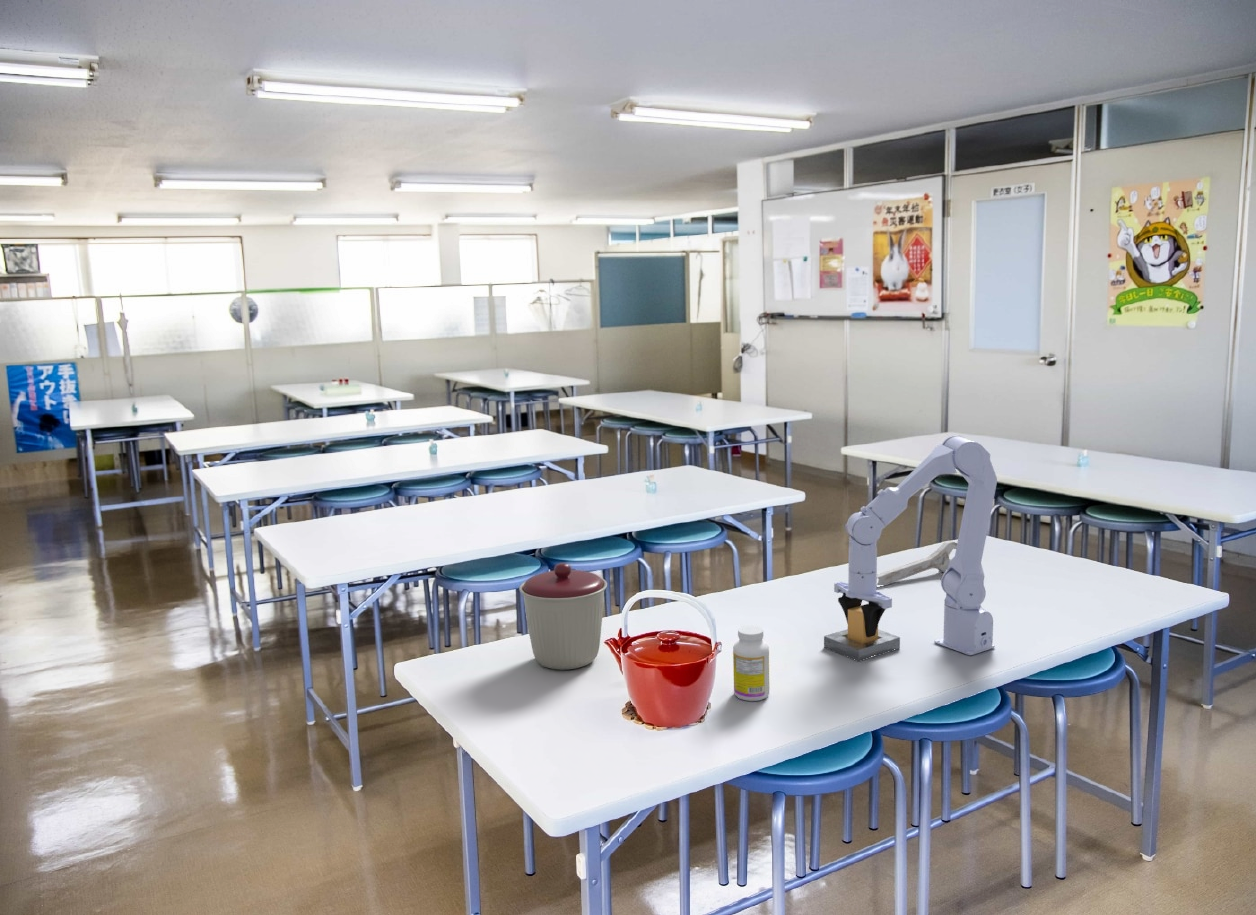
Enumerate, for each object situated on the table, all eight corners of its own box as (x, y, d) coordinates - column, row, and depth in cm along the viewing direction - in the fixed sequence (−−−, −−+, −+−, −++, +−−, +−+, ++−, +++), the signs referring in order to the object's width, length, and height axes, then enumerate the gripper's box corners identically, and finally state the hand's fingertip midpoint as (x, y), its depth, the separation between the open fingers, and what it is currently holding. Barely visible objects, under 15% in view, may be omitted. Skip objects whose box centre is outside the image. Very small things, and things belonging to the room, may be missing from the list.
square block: (877, 642, 201) (878, 610, 200) (862, 647, 198) (863, 614, 197) (862, 636, 204) (862, 605, 203) (847, 641, 202) (847, 609, 201)
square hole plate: (899, 648, 200) (899, 637, 200) (858, 661, 194) (858, 649, 194) (864, 635, 209) (864, 624, 208) (824, 647, 203) (824, 636, 202)
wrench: (871, 597, 244) (957, 566, 257) (876, 599, 242) (962, 568, 255) (868, 567, 242) (955, 538, 255) (873, 569, 241) (960, 539, 253)
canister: (593, 640, 211) (589, 547, 207) (622, 668, 194) (619, 568, 191) (513, 653, 205) (508, 558, 201) (536, 684, 188) (531, 580, 184)
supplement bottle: (746, 685, 184) (745, 621, 182) (775, 693, 180) (775, 628, 178) (726, 696, 179) (725, 631, 177) (757, 705, 175) (756, 638, 173)
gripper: (823, 565, 203) (823, 627, 205) (874, 581, 191) (874, 646, 193) (847, 560, 206) (847, 620, 209) (899, 575, 194) (898, 639, 196)
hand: (861, 632), depth 201 cm, fingers closed on square block, 4 cm apart
